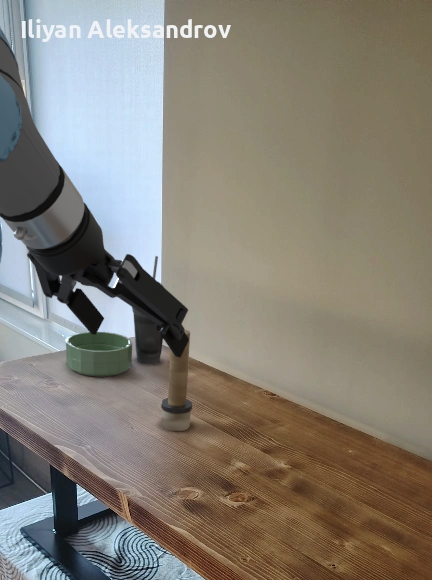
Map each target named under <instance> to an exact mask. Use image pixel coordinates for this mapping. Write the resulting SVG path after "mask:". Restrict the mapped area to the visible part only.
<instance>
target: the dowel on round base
mask: <svg viewBox="0 0 432 580" xmlns="http://www.w3.org/2000/svg"><path fill="white" fill-rule="evenodd" d="M184 332H185V334H186V335H187V337H188V338H189V341H188V343H187V345H186V347H185V349H184V351H183V353H182V355H181V358H180V357H176V356H175V355H174V354H173V352H172V351H171V349H170V348H169V365H168V367H169V369H168V392H167V397H166V398H164V399H162V400H161V402H160V408H161V427H163V428H164V429H165V430H167V431H172V432H182V431H187V430H188V429H190V425H191V414H192V413H191V411H193V410H192V409H193V402H192V401H191V400H190V399H187V391H188V377H189V376H188V375H189V360H190V345H191V343H190V342H191V332H190V330H187V329H185V331H184Z"/></svg>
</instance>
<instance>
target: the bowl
mask: <svg viewBox="0 0 432 580" xmlns="http://www.w3.org/2000/svg"><path fill="white" fill-rule="evenodd" d="M65 351H66V352H65V355H66V366H67V368H69V369H70V370H71V371H74V372H75V373H78V374H81V375H85V376H89V377H112V376H113V377H114V376H118V375H120V374H123V373H125V372H126V371H128V370H130V369H131V368H132V367H133V342H132V339H131V338H129V337H127V336H126V335H122V334H119V333H115V332H108V331H107V332H106V331H97V333H96V335H94V334H91V333H90V332H89V331H84V332H78V333H73V334H71V335H69V336H68V337H66V338H65Z"/></svg>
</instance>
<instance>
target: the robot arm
mask: <svg viewBox="0 0 432 580" xmlns="http://www.w3.org/2000/svg"><path fill="white" fill-rule="evenodd" d="M31 112H32V111H31V108H30V105H29V102H28V99H27V97H26V94H25V90H24V87H23V82H22V79H21V75H20V69H19V63H18V61H17V58H16V56H15V53H14V51H13V49H12V46H11V44H10V41H9V39H8V37H6V35H5V33H4V31H3V29H2V28H1V27H0V218H1V219H2V220H3V221H4V223H5V224H6V225H7V227H9V228H10V230H11V231H12V232H13V237H14V238H15V239H16V240H18V241H20V242H21V243H23V245H24V246H25V247H26V249H27V251H28V252H27V254H26V257H27V258H28V259H29V261H30V262H31V263H32V264H33V265H34V269H35V272H36V275H37V277H38V281H39V284H40V287H41V291H42V294H43V295H44V296H45V297H47V298H50V299H52V298H53V297H56V300H57V301H58V302H59V303H61V304H65V306H66V307H67V308H68V309H69V310H70V311H71V312H72V313H73V315H74V316H75V317H76V318H77V320H78V321H79V322H80V323H81V324H82V325H83V326H84V327H85V328H86V330H87V332H90V333H91V334H94V335H96V333H97V332H99V329H100V328H101V326H102V324H103V322H104V320H105V317H104V315H103V314H102V313H101V312H100V311H99V310H98V308H97V307H96V306H95V305H94V304H93V302H92V301H91V299H90V298H89V297H88V295H87V294H86V293H85V292H84V291H83V289H81V288H78V287H76V285H77V283H79V284H80V285H82V286H84V287H85V286H86V287H93V288H95V289H97V290H99V292H102V293H103V294H105V295H106V296H108V297H109V298H111V299H115V298H118V299H119V300H122V301H123V302H124V303H126V304H127V305H128V306H129V307H131V308H132V307H133V308H134V309H136V310H137V311H139V312H140V313H142V314H143V315H145V316H146V317H148V318H149V319H151V320H152V321H154V322H155V323H156V324H158V325H157V327H156V329H157V330H158V332H159V333H160V335H161V336H162V337H163V341H164V342H165V344H166V345H167V346H168V348H169V350H170V349H171V351H172V352H173V354H174V355H175V356H176V357H180V358H181V355H182V353H183V351H184V349H185V347H186V345H187V343H188V341H189V338H188V337H187V335H186V334H185V332H184V331H185V330H186V328H185V327H184V325H183V322H184V320H185V318H186V316H187V314H188V312H189V309H188V308H187V307H186V305H185V304H183V303H182V302H181V301H180V300H179V299H178V298H177V297H175V296H174V294H172V293H171V292H170V291H169V290H168V289H167V288H165V287H163V286H164V285H163V284H162V283H161V282H159V281H158V282H159V283H158V282H157V280H156V278H155V279H154V278H153V275H151V274H150V273H149V272H147V270H145V269H144V268H143V266H142V265H141V263H140V262H139V261H138V259H136V257H135V256H133V255H132V254H129V253H126V254H125V256H124V258H123V259H122V260H121V259H115V257H114V256H113V255H112V254H111V253H110V252H109V251H107V250H106V249H105V245H104V235H103V233H104V232H103V229H102V227H101V225H100V223H99V222H98V220H97V219H96V216H94V214H93V213H92V211H91V209H90V208H89V207H88V205H87V204H86V202H85V201H84V199H83V196H82V195H81V193H80V192H79V190H78V189H77V187H76V186H75V185H74V183H73V181H72V180H71V179H70V177H69V176H68V174H67V173H66V171H65V169H64V168H63V167H62V166H61V165H60V163H59V162H58V160H57V159H56V157H55V156H54V154H53V153H52V151H51V149H50V147H49V146H48V145H47V143H46V141H45V139H44V138H43V137H42V135H41V133H40V132H39V130H38V128H37V126H36V124H35V122H34V118H33V115H32V113H31ZM2 229H3V228H2V223H1V221H0V264H1V262H2V257H3V244H2V243H3V230H2ZM114 275H115V276H116V277H117V278H116V280H115V283H114V284H113V286H112V287H111V286H109V285H110V283H111V282H112V280H113V277H114ZM160 283H161V284H162V285H163V286H162V285H161V284H160ZM75 287H76V288H75ZM74 289H75V290H74Z"/></svg>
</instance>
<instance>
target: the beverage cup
mask: <svg viewBox="0 0 432 580" xmlns="http://www.w3.org/2000/svg"><path fill="white" fill-rule="evenodd" d="M154 257H155V258H154V263H153V271H152V277H153V278H154V279H155V280H156V277H157V269H158V260H159V256H158V255H155V256H154ZM156 281H157V280H156ZM157 282H158V283H160V284H161V285H162V286H163V287H164V285H163V284H162V283H161V282H159V281H157ZM164 288H165V287H164ZM131 309H132V314H133V326H134V327H133V329H134V341H135V353H136V361H137V362H138V363H139V364H142V365H157V364H159V363H160V362H161V357H162V350H163V342H164V339H163V337H162V336H161V335H160V333H159V332H158V330H157V329H156V327H157V325H158V324H156V323H155V322H154V321H152V320H151V319H149V318H148V317H146V316H145V315H143V314H142V313H140V312H139V311H137V310H136V309H134V308H133V307H131Z"/></svg>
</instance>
